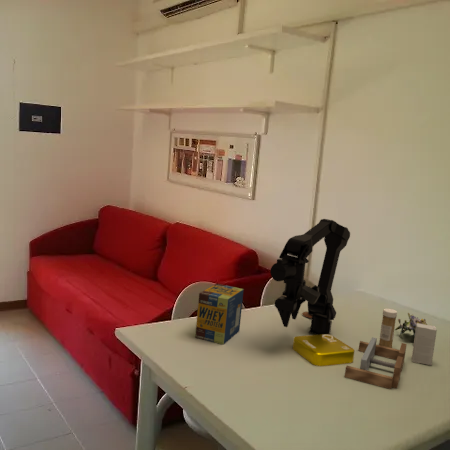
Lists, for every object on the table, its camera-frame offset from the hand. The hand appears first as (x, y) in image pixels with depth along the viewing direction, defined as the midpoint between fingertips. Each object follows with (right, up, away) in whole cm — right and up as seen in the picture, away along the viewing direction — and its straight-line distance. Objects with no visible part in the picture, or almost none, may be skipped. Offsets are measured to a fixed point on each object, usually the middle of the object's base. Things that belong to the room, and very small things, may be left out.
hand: (289, 322), depth 163 cm
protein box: (-24, -5, +6) cm, 25 cm away
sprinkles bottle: (+34, -10, +8) cm, 36 cm away
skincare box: (+42, -12, -2) cm, 44 cm away
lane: (+25, -12, -10) cm, 29 cm away
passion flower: (+46, -10, +18) cm, 51 cm away
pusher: (+27, -12, -11) cm, 31 cm away
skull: (+16, -5, +35) cm, 39 cm away
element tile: (+10, -10, -4) cm, 15 cm away
